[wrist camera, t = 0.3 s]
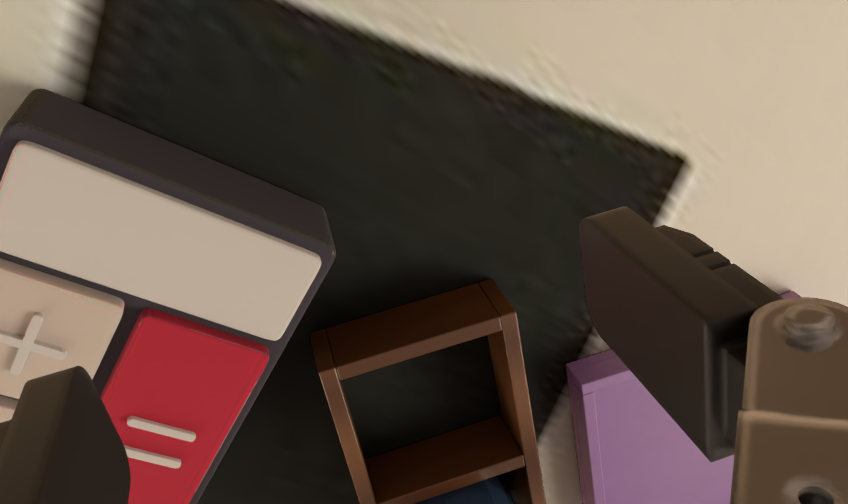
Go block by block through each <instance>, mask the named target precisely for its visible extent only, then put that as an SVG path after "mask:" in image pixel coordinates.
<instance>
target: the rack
mask: <svg viewBox="0 0 848 504" xmlns="http://www.w3.org/2000/svg"><path fill="white" fill-rule="evenodd" d="M486 335H487V336H488V342H489V347H490V353H491V359H492V364H493V370H494V375H495V381H496V386H497V392H498V397H499V403H500V409H501V414H502V416H501V415H500V416H497V417H494V418H490V419H487V420H484V421H481V422H478V423H475V424H472V425H469V426H466V427H463V428H460V429H457V430H454V431H451V432H448V433H445V434H442V435H438V436H435V437H432V438H429V439H426V440H423V441H420V442H417V443H414V444H411V445H408V446H405V447H402V448H399V449H396V450H393V451H390V452H386V453H383V454H380V455H377V456H374V457H371V458H368V459H366V460H365V459H364V455H363V452H362V449H361V445H360V442H359V439H358V435H357V432H356V429H355V425H354V422H353V419H352V415H351V412H350V409H349V405H348V402H347V399H346V395H345V392H344V389H343V386H342V382H341V380H344V379H347V378H351V377H354V376H357V375H360V374H364V373H367V372H370V371H373V370H376V369H380V368H383V367H386V366H389V365H392V364H396V363H399V362H402V361H405V360H409V359H412V358H415V357H418V356H421V355H425V354H428V353H431V352H434V351H437V350H441V349H444V348H447V347H450V346H454V345H457V344H460V343H463V342H466V341H470V340H473V339H476V338H479V337H482V336H486ZM310 339H311V343H312V347H313V352H314V356H315V361H316V365H317V369H318V374H319V377H320V380H321V383H322V386H323V389H324V393H325V396H326V399H327V402H328V405H329V408H330V412H331V415H332V418H333V421H334V424H335V427H336V430H337V434H338V437H339V440H340V443H341V446H342V449H343V453H344V456H345V459H346V462H347V465H348V468H349V471H350V475H351V478H352V481H353V484H354V487H355V490H356V494H357V497H358V500H359V503H360V504H415V503H418V502H421V501H424V500H426V499H429V498H432V497H435V496H438V495H441V494H444V493H447V492H450V491H453V490H456V489H459V488H462V487H465V486H468V485H471V484H474V483H477V482H480V481H483V480H486V479H489V478H492V477H494V476H497V475H500V474H503V473H506V472H509V471H512V475H513V481H514V486H515V492H516V498H517V503H518V504H546V500H545V493H544V487H543V480H542V474H541V468H540V461H539V455H538V448H537V442H536V435H535V429H534V422H533V416H532V410H531V403H530V397H529V390H528V384H527V377H526V371H525V364H524V358H523V352H522V345H521V339H520V332H519V326H518V319H517V313H516V311H515V310H514V308H513V307H512V305H511V304H510V303H509V301H508V300H507V298H506V297H505V296H504V294H503V293H502V291H501V290H500V289H499V287H498V286H497V285H496V283H495V282H494V280H493V279H489V280H486V281H482V282H479V283H478V284H477V283H475V284H472V285H469V286H465V287H462V288H459V289H455V290H452V291H449V292H445V293H442V294H439V295H435V296H432V297H429V298H425V299H422V300H419V301H415V302H412V303H409V304H405V305H402V306H399V307H395V308H392V309H389V310H385V311H382V312H379V313H376V314H372V315H369V316H366V317H362V318H359V319H356V320H352V321H349V322H346V323H342V324H339V325H336V326H332V327H329V328H326V330H325V329H323V330H320V331H316V332H313V333H311V334H310Z"/></svg>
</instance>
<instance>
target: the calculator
mask: <svg viewBox="0 0 848 504" xmlns="http://www.w3.org/2000/svg"><path fill="white" fill-rule="evenodd" d="M335 257H336V250H335V246H334V242H333V238H332V234H331V231H330V227H329V223H328V219H327V216H326V212H325V210H324V208H323V207H322V206H320V205H318V204H316V203H314V202H312V201H309V200H307V199H305V198H302V197H300V196H297V195H295V194H293V193H290V192H288V191H286V190H283V189H281V188H278V187H276V186H274V185H271V184H269V183H267V182H264V181H262V180H260V179H257V178H255V177H252V176H250V175H248V174H245V173H243V172H241V171H238V170H236V169H233V168H231V167H229V166H226V165H224V164H222V163H219V162H217V161H214V160H212V159H210V158H207V157H205V156H203V155H200V154H198V153H195V152H193V151H191V150H188V149H186V148H184V147H181V146H179V145H176V144H174V143H172V142H169V141H167V140H165V139H162V138H160V137H157V136H155V135H153V134H150V133H148V132H146V131H143V130H141V129H138V128H136V127H134V126H131V125H129V124H127V123H124V122H122V121H119V120H117V119H115V118H112V117H110V116H108V115H105V114H103V113H100V112H98V111H96V110H93V109H91V108H89V107H86V106H84V105H81V104H79V103H77V102H74V101H72V100H70V99H67V98H65V97H63V96H60V95H58V94H55V93H53V92H50V91H48V90H44V89H37V90H34V91H32V92H31V93H30V94H29V95H28V96H27V98H26V99H25V100H24V101H23V103H22V104H21V105H20V107H19V108H18V109H17V111H16V112H15V113H14V115H13V116H12V117H11V119H10V120H9V121H8V123H7V124H6V126H5V127H4V129H3V132H2V134H1V136H0V423H2V422H5V421H8V420H11V419H12V417H13V414H14V411H15V409H16V406H17V403H18V401H19V398H20V395H21V393H22V390H23V387H24V385H25V383H26V382H27V381H28V380H31V379H35V378H38V377H41V376H45V375H48V374H52V373H55V372H58V371H62V370H65V369H69V368H72V367H75V366H81V367H83V368H84V369H85V370H86V371H87V372H88V374H89V375H90V377H91V379H92V381H93V383H94V385H95V387H96V389H97V391H98V393H99V395H100V397H101V399H102V401H103V403H104V405H105V408H106V410H107V412H108V414H109V416H110V418H111V420H112V422H113V424H114V426H115V428H116V430H117V432H118V434H119V436H120V438H121V440H122V442H123V445H124V447H125V450H126V453H127V457H128V461H129V466H130V474H131V484H130V492H129V500H128V504H197V502H198V501H199V499H200V497H201V495H202V494H203V492H204V490H205V488H206V486H207V485H208V483H209V481H210V479H211V478H212V476H213V474H214V472H215V471H216V469H217V467H218V465H219V463H220V462H221V460H222V458H223V456H224V455H225V453H226V451H227V449H228V448H229V446H230V444H231V442H232V440H233V439H234V437H235V435H236V433H237V432H238V430H239V428H240V426H241V425H242V423H243V421H244V419H245V417H246V416H247V414H248V412H249V410H250V409H251V407H252V405H253V403H254V402H255V400H256V398H257V396H258V394H259V393H260V391H261V389H262V387H263V386H264V384H265V382H266V380H267V379H268V377H269V375H270V373H271V371H272V370H273V368H274V366H275V364H276V363H277V361H278V359H279V357H280V356H281V354H282V352H283V350H284V348H285V347H286V345H287V343H288V341H289V340H290V338H291V336H292V334H293V332H294V331H295V329H296V327H297V325H298V324H299V322H300V320H301V318H302V317H303V315H304V313H305V311H306V309H307V308H308V306H309V304H310V302H311V301H312V299H313V297H314V295H315V294H316V292H317V290H318V288H319V286H320V285H321V283H322V281H323V279H324V278H325V276H326V274H327V272H328V271H329V269H330V267H331V265H332V263H333V261H334V259H335Z"/></svg>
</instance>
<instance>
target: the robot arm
mask: <svg viewBox="0 0 848 504" xmlns="http://www.w3.org/2000/svg"><path fill="white" fill-rule="evenodd" d="M579 241H580V251H581V260H582V269H583V279H584V288H585V297H586V304H587V308H588V312H589V315H590V318H591V320H592V323H593V325H594V327H595V329H596V331H597V332H598V334H599V335H600V336H601V338H602V339H603V340H604V341H605V342H606V343H607V345H608V346H609V347H610V348H611V349H612V350H613V351H614V353H615V354H616V355H617V356H618V357H619V358H620V359H621V361H622V362H623V363H624V364H625V365H626V366H627V367H628V368H629V370H630V371H631V372H632V373H633V374H634V375H635V376H636V378H637V379H638V380H639V381H640V382H641V383H642V384H643V386H644V387H645V388H646V389H647V390H648V391H649V392H650V394H651V395H652V396H653V397H654V398H655V399H656V400H657V402H658V403H659V404H660V405H661V406H662V407H663V408H664V410H665V411H666V412H667V413H668V414H669V415H670V416H671V418H672V419H673V420H674V421H675V422H676V423H677V424H678V425H679V427H680V428H681V429H682V430H683V431H684V432H685V433H686V435H687V436H688V437H689V438H690V439H691V440H692V441H693V443H694V444H695V445H696V446H697V447H698V448H699V449H700V451H701V452H702V453H703V454H704V455H705V456H706V457H707V459H708V460H709V461H710V462H714V461H717V460H720V459H723V458H726V457H729V456H731V455H734V463H733V474H732V485H731V496H730V504H848V307H847V306H844V305H842V304H839V303H836V302H832V301H829V300H823V299H818V298H787V299H783V298H782V297H780V296H779V295H778V294H776V293H775V292H773V291H772V290H771V289H769V288H768V287H766V286H765V285H764V284H762V283H761V282H759V281H758V280H757V279H755V278H754V277H752V276H751V275H750V274H748V273H747V272H745V271H744V270H742V269H741V268H740V267H738V266H737V265H735V264H731V263H730V260H728V259H727V258H726V257H724V256H723V255H721V254H720V253H719V252H714V251H713V248H712V247H710V246H709V245H707V244H706V243H704V242H703V241H702V240H700V239H699V238H697V237H696V236H695V235H693V234H690V233H687V232H684V231H681V230H678V229H674V228H671V227H668V226H665V225H663V226H660V227H656V228H655V227H653V226H652V225H651V224H650V223H648V222H647V221H646V220H644V219H643V218H642V217H640V216H639V215H638V214H636V213H635V212H634V211H632V210H631V209H630V208H628V207H620V208H617V209H614V210H610V211H607V212H603V213H600V214H597V215H593V216H590V217H586V218H583V219H582V220H581V221H580V224H579ZM130 484H131V474H130V466H129V461H128V457H127V453H126V450H125V447H124V445H123V442H122V440H121V438H120V436H119V434H118V432H117V430H116V428H115V426H114V424H113V422H112V420H111V418H110V416H109V414H108V412H107V410H106V408H105V405H104V403H103V401H102V399H101V397H100V395H99V393H98V391H97V389H96V387H95V385H94V383H93V381H92V379H91V377H90V375H89V374H88V372H87V371H86V370H85V369H84V368H83V367H81V366H75V367H72V368H69V369H65V370H62V371H58V372H55V373H52V374H48V375H45V376H41V377H38V378H35V379H31V380H28V381H27V382H26V383H25V385H24V387H23V390H22V393H21V395H20V398H19V401H18V403H17V406H16V409H15V411H14V414H13V417H12V419H11V420H8V421H5V422H2V423H0V504H128V500H129V492H130Z"/></svg>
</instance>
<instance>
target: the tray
mask: <svg viewBox="0 0 848 504" xmlns="http://www.w3.org/2000/svg"><path fill="white" fill-rule="evenodd" d="M779 296H780V297H782V298H783V299H787V298H802V297H800V295H798V294H797V293H795V292H794V291H791V292H788V293H785V294H782V295H779ZM566 371H567V379H568V387H569V395H570V404H571V412H572V420H573V428H574V436H575V444H576V452H577V460H578V469H579V477H580V485H581V493H582V501H583V504H730V496H731V485H732V474H733V463H734V455H731V456H729V457H726V458H723V459H720V460H717V461H714V462H710V461H709V460H708V459H707V457H706V456H705V455H704V454H703V453H702V452H701V451H700V449H699V448H698V447H697V446H696V445H695V444H694V443H693V441H692V440H691V439H690V438H689V437H688V436H687V435H686V433H685V432H684V431H683V430H682V429H681V428H680V427H679V425H678V424H677V423H676V422H675V421H674V420H673V419H672V418H671V416H670V415H669V414H668V413H667V412H666V411H665V410H664V408H663V407H662V406H661V405H660V404H659V403H658V402H657V400H656V399H655V398H654V397H653V396H652V395H651V394H650V392H649V391H648V390H647V389H646V388H645V387H644V386H643V384H642V383H641V382H640V381H639V380H638V379H637V378H636V376H635V375H634V374H633V373H632V372H631V371H630V370H629V368H628V367H627V366H626V365H625V364H624V363H623V362H622V361H621V359H620V358H619V357H618V356H617V355H616V354H615V353H614V351H613V350H612V349H610V350H607V351H604V352H601V353H598V354H595V355H592V356H589V357H586V358H582V359H579V360H576V361H573V362H570V363H567V364H566Z"/></svg>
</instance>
